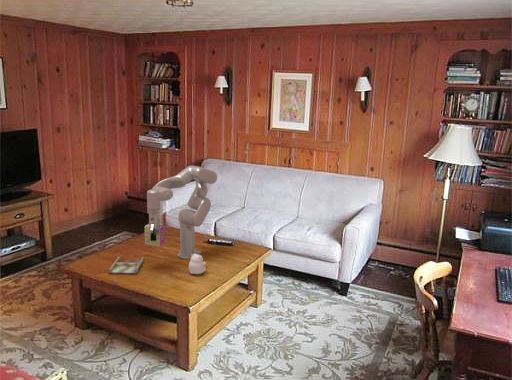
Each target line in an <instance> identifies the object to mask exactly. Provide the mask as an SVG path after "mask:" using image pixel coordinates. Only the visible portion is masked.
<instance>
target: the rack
mask: <svg viewBox="0 0 512 380" xmlns="http://www.w3.org/2000/svg"><path fill="white" fill-rule="evenodd" d="M144 262H145V257H144V256H142V257H141V258H140V259H121V256H117V258H116V259H115V260H114V262H113V263H112V265H111V266H110V267H109V268H108V275H123V276H125V275H127V276H128V275H132V276H133V275H135V276H136V275H137V274H138V273H139V271H140V269H141V267H142V266H143V264H144Z"/></svg>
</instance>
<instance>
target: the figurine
mask: <svg viewBox="0 0 512 380" xmlns="http://www.w3.org/2000/svg"><path fill="white" fill-rule="evenodd" d="M191 256H192V257H191V258H190V261H189V263H188V270H189V272H190V275H193V274H194V275H201V274H202V273H203V274H204V273H205V271H206V269H207V267H206V264H207V262H206V261H204V258H203V255H201V254H198V253H197V254H193V255H192V254H191Z"/></svg>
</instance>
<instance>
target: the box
mask: <svg viewBox="0 0 512 380" xmlns="http://www.w3.org/2000/svg"><path fill="white" fill-rule="evenodd" d="M153 229H155V228H153ZM150 233H151V230H150V229H149V223H148V224H146V225H145V226H144V245H147V246H148V245H149V246H153V247H163V245H165V225H161V224H160V225H159V227H158V230H156V233H155V234H156V241H151V237H150Z"/></svg>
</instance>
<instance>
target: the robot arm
mask: <svg viewBox="0 0 512 380" xmlns="http://www.w3.org/2000/svg"><path fill="white" fill-rule="evenodd" d="M193 180H195V188H194V190H193V192H192V193H191V196H190V197H189V199H188V201H187V206H188V208H183V209H181V210H180V211H179V213H178V216H177V217H178V222H179V223H178V224H179V248H180V249H179V251H178V253H177V257H179V258H180V259H184V260H185V259H186V260H187V259H188V260H189V259H190V260H191V257H192V256H191V254H192V255H193V254H199V255H201V254H202V250H200V249H196V247H195V246H196V245H195V241H196V240H195V239H196V237H195V234H196V233H195V232H196V231H195V227H196V228H198V227H200V226H202V224H203V223H204V222H205V220H206V217H208V215H209V212H210V210H211V206H212V202H211V199H209V198H208V197H206V196H207V194H208V186H207V185H209V184H210V185H211V184H214V183H216V182H217V180H218V175H217V173H216V172H215V171H214V170H212V169H208V168H205V167H202V166H198V165H188V166H186V167H185V168H184V169H182V170H181V171H179V172H178V173H177V174H176V175H174V176H170V177H168V178H165V179H162V180H160V181H159V182H157V183H156V184H155V185H154V186H153V187H152V188H151V189H149V190H147V192H146V202H147V204H146V206H147V207H146V208H147V214H148V220H149V221H148V224H149V229H150V230H151V233H150V237H151V241H156V234H155V233H156V230H158V227H159V225H161V216H160V214H161V202H167V201H170V200H171V199H172V198H173V196H174V192H173V190H172V189H180V188H184V187H185V186H186V185H188V184H189V183H190V182H191V181H193ZM153 228H155V229H153Z"/></svg>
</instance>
